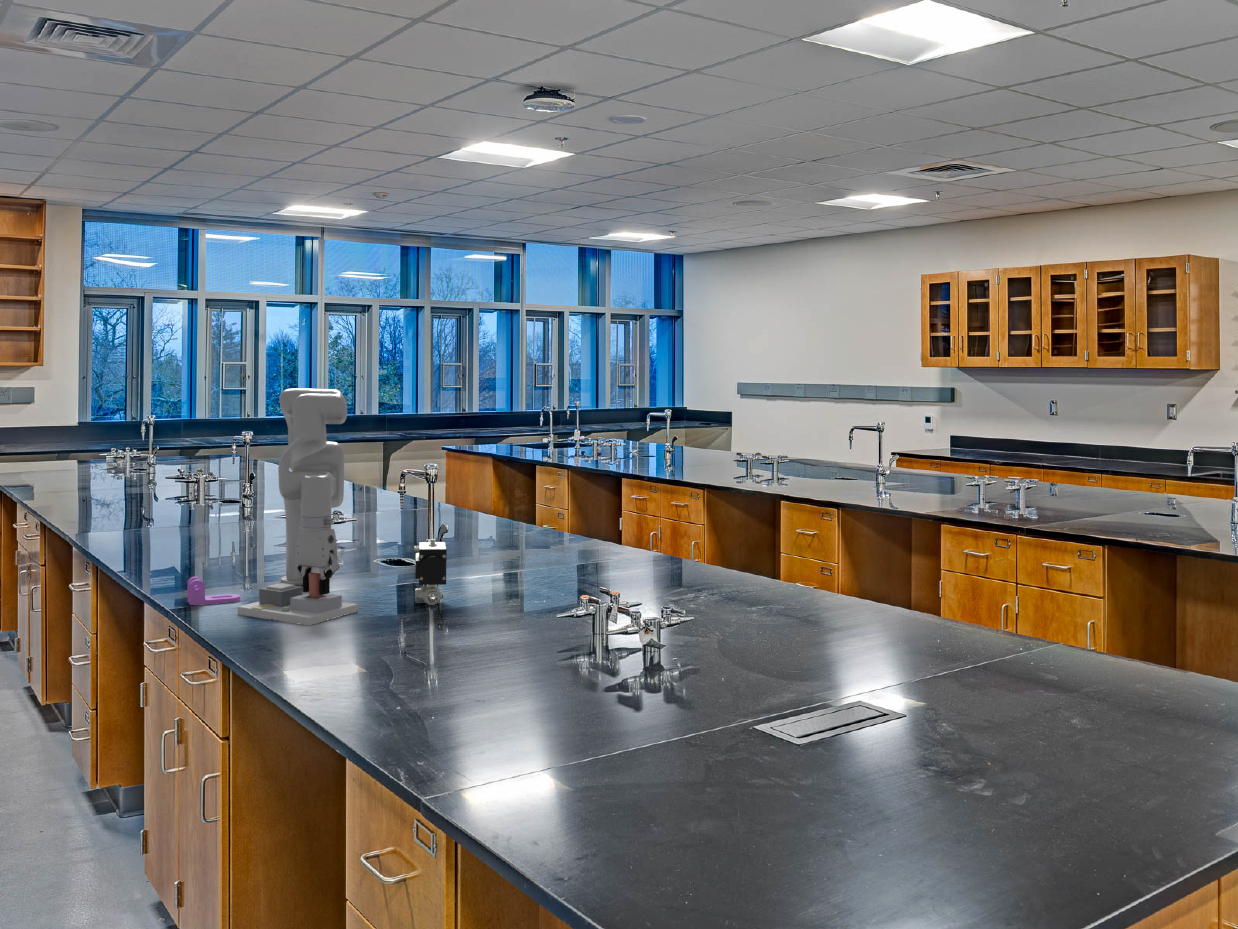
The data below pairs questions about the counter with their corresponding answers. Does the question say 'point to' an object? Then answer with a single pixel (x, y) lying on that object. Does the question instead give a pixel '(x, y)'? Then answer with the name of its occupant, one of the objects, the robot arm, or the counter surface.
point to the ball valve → (430, 570)
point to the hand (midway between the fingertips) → (316, 592)
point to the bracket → (198, 594)
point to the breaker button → (281, 586)
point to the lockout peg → (314, 585)
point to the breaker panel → (295, 613)
